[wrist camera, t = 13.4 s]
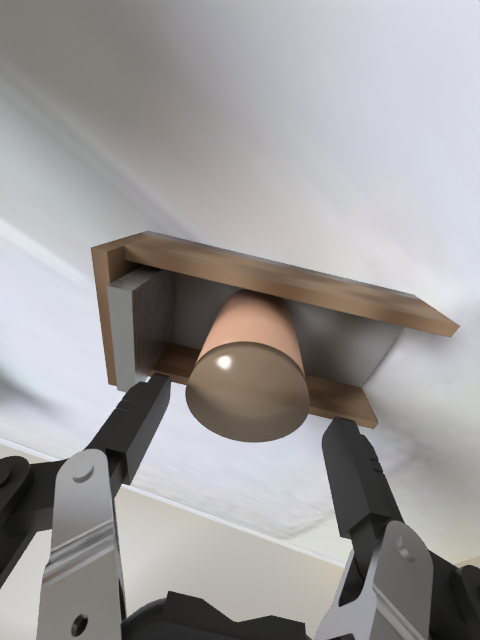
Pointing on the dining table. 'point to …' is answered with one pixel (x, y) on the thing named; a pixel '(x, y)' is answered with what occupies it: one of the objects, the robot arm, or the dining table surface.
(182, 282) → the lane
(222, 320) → the jar
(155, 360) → the plate
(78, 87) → the dining table surface
